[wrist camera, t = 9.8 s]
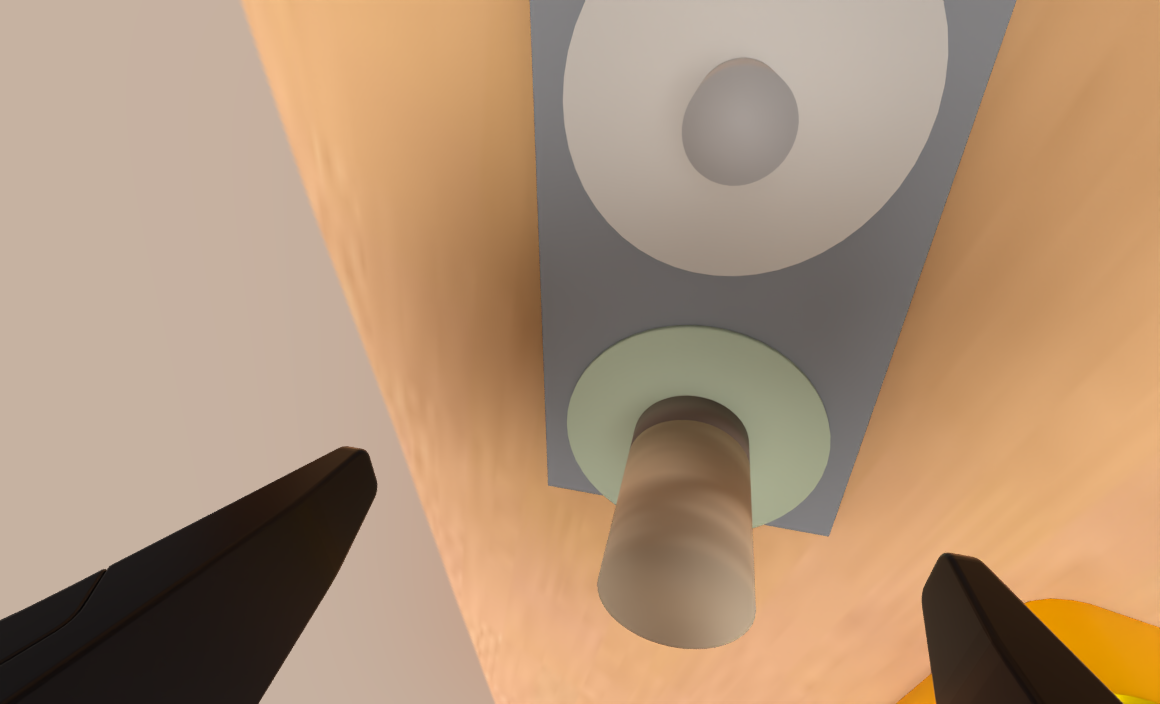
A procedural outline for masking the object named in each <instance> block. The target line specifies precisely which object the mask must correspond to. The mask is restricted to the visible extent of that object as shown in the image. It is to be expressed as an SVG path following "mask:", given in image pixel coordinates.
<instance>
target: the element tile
mask: <svg viewBox="0 0 1160 704" xmlns="http://www.w3.org/2000/svg"><path fill="white" fill-rule="evenodd" d="M1024 604H1025V605H1026V606H1027V607H1028V608H1029V609H1030V610H1031V611H1032V612H1033V613H1034V614H1035V615H1036V616H1037V617H1038V618H1039V619H1040V620H1041V621H1042V622H1043V623H1044V624H1045V625H1046V626H1047V627H1048V628H1049V629H1050V630H1051V631H1052V632H1053V633H1054V634H1055V635H1056V636H1057V637H1058V638H1059V639H1060V640H1061V641H1062V642H1063V643H1064V644H1065V645H1066V646H1067V647H1068V648H1069V649H1070V650H1071V651H1072V652H1073V653H1074V654H1075V655H1076V656H1077V657H1078V658H1079V659H1080V660H1081V661H1082V662H1083V663H1084V664H1085V665H1086V666H1087V667H1088V668H1089V669H1090V670H1091V671H1092V672H1093V673H1094V674H1095V675H1096V676H1097V677H1098V678H1099V679H1100V680H1101V681H1102V682H1103V683H1104V684H1105V685H1106V686H1107V687H1108V688H1109V689H1110V690H1111V691H1112V692H1113V693H1114V694H1115V695H1116V696H1117V697H1118V698H1119V699H1120V700H1121V701H1122V702H1123V703H1124V704H1160V628H1159V627H1156V626H1153V625H1150V624H1147V623H1144V622H1142V621H1139V620H1136V619H1133V618H1130V617H1127V616H1124V615H1121V614H1118V613H1115V612H1112V611H1109V610H1106V609H1103V608H1100V607H1097V606H1094V605H1092V604H1088V603H1083V602H1079V601H1074V600H1063V599H1043V600H1035V601H1029V602H1026V603H1024ZM896 704H936V701H935V694H934V687H933V680H932V674H930V675H929V676H928V677H927V678H926V679H924V680H923V681H922V682H921V683H920V684H919V685H917V686H916V687H915V688H914V689H913V690H912V691H910V692H909V693H908V694H907V695H906V696H904V697H903V698H902V699H901V700H900V701H899V702H897V703H896Z"/></svg>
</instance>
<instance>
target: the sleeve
mask: <svg viewBox="0 0 1160 704" xmlns="http://www.w3.org/2000/svg"><path fill="white" fill-rule="evenodd" d="M597 586H598V593H599V597H600V599H601V602H602V604H603V605H604V607H605V608H606V610H607V611H608V612H609V614H610V615H611V616H612V617H613V618H614V619H615V620H616V621H617V622H618V623H620V624H621V625H622V626H624V627H625V628H626V629H628V630H630V631H631V632H633V633H635V634H637V635H638V636H640V637H643V638H645V639H647V640H650V641H653V642H655V643H658V644H662V645H666V646H670V647H675V648H683V649H707V648H715V647H719V646H723V645H726V644H728V643H731V642H733V641H735V640H737V639H738V638H740V637H741V636H743V635H744V634H745V633H746V632H747V631H748V630H749V628H750V627H751V625H752V624H753V621H754V619H755V614H756V602H755V577H754V553H753V528H752V503H751V478H750V453H749V438H748V433H747V431H746V428H745V426H744V425H743V423H742V421H741V420H740V419H739V418H738V417H737V416H736V415H735V414H734V413H733V412H732V411H731V410H730V409H728V408H727V407H725V406H724V405H722V404H720V403H718V402H716V401H713V400H710V399H707V398H704V397H698V396H689V395H687V396H674V397H670V398H666V399H663V400H661V401H658V402H656V403H655V404H653V405H651V406H650V407H649V408H647V409H646V410H645V411H644V412H643V413H642V415H641V416H640V417H639V419H638V421H637V423H636V426H635V430H634V434H633V438H632V442H631V446H630V450H629V455H628V459H627V463H626V467H625V471H624V475H623V479H622V483H621V487H620V491H619V495H618V499H617V503H616V508H615V512H614V516H613V520H612V524H611V528H610V532H609V536H608V540H607V544H606V548H605V552H604V556H603V561H602V565H601V569H600V573H599V577H598V583H597Z"/></svg>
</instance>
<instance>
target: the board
mask: <svg viewBox="0 0 1160 704" xmlns="http://www.w3.org/2000/svg"><path fill="white" fill-rule="evenodd" d="M1015 3H1016V0H530V18H531V44H532V71H533V97H534V124H535V150H536V176H537V203H538V229H539V256H540V282H541V308H542V335H543V361H544V388H545V414H546V440H547V467H548V485H549V486H554V487H560V488H565V489H571V490H576V491H582V492H587V493H593V494H598V495H604V496H605V497H606V498H607V499H608V500H610V501H611V502H612V503H614V504H615V505H616V503H617V499H618V495H619V491H620V487H621V483H622V479H623V475H624V471H625V467H626V463H627V459H628V455H629V450H630V446H631V442H632V438H633V434H634V430H635V426H636V423H637V421H638V419H639V417H640V416H641V415H642V413H643V412H644V411H645V410H646V409H647V408H649V407H650V406H651V405H653V404H655V403H656V402H658V401H661V400H663V399H666V398H670V397H674V396H687V395H689V396H698V397H704V398H707V399H710V400H713V401H716V402H718V403H720V404H722V405H724V406H725V407H727V408H728V409H730V410H731V411H732V412H733V413H734V414H735V415H736V416H737V417H738V418H739V419H740V420H741V421H742V423H743V425H744V426H745V428H746V431H747V433H748V438H749V453H750V478H751V503H752V528H755V527H758V526H761V525H768V526H774V527H779V528H785V529H790V530H796V531H801V532H807V533H812V534H818V535H823V536H829V535H830V532H831V529H832V526H833V523H834V520H835V517H836V515H837V512H838V509H839V506H840V503H841V500H842V497H843V494H844V492H845V489H846V486H847V483H848V480H849V477H850V474H851V472H852V469H853V466H854V463H855V460H856V457H857V454H858V452H859V449H860V446H861V443H862V440H863V437H864V434H865V432H866V429H867V426H868V423H869V420H870V417H871V414H872V412H873V409H874V406H875V403H876V400H877V397H878V394H879V392H880V389H881V386H882V383H883V380H884V377H885V374H886V372H887V369H888V366H889V363H890V360H891V357H892V354H893V352H894V349H895V346H896V343H897V340H898V337H899V334H900V332H901V329H902V326H903V323H904V320H905V317H906V314H907V312H908V309H909V306H910V303H911V300H912V297H913V294H914V292H915V289H916V286H917V283H918V280H919V277H920V274H921V272H922V269H923V266H924V263H925V260H926V257H927V254H928V252H929V249H930V246H931V243H932V240H933V237H934V234H935V232H936V229H937V226H938V223H939V220H940V217H941V214H942V212H943V209H944V206H945V203H946V200H947V197H948V194H949V192H950V189H951V186H952V183H953V180H954V177H955V174H956V172H957V169H958V166H959V163H960V160H961V157H962V154H963V152H964V149H965V146H966V143H967V140H968V137H969V134H970V132H971V129H972V126H973V123H974V120H975V117H976V114H977V112H978V109H979V106H980V103H981V100H982V97H983V94H984V92H985V89H986V86H987V83H988V80H989V77H990V74H991V72H992V69H993V66H994V63H995V60H996V57H997V54H998V52H999V49H1000V46H1001V43H1002V40H1003V37H1004V34H1005V32H1006V29H1007V26H1008V23H1009V20H1010V17H1011V14H1012V12H1013V9H1014V6H1015Z"/></svg>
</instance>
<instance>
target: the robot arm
mask: <svg viewBox="0 0 1160 704" xmlns="http://www.w3.org/2000/svg"><path fill="white" fill-rule="evenodd" d="M376 492H377V480H376V476H375V473H374V470H373V467H372V463H371V460H370V456H369V454H368V453H367V451H366V450H364V449H360V448H354V447H348V446H345V447H340V448H338V449H336V450H334V451H332V452H330V453H328V454H327V455H325V456H322V457H321V458H319V459H317V460H315V461H313V462H311V463H309V464H307V465H305V466H303V467H301V468H299V469H298V470H295V471H293V472H291V473H289V474H288V475H286V476H284V477H282V478H280V479H278V480H276V481H274V482H272V483H270V484H268V485H266V486H264V487H262V488H260V489H259V490H256V491H254V492H253V493H251V494H249V495H247V496H245V497H243V498H241V499H239V500H237V501H235V502H233V503H231V504H229V505H227V506H225V507H223V508H221V509H219V510H218V511H216V512H214V513H212V514H210V515H208V516H206V517H204V518H202V519H200V520H198V521H196V522H194V523H192V524H190V525H188V526H186V527H184V528H182V529H181V530H179V531H177V532H175V533H173V534H171V535H169V536H167V537H165V538H163V539H161V540H159V541H157V542H155V543H153V544H151V545H149V546H147V547H146V548H144V549H142V550H140V551H138V552H136V553H134V554H132V555H130V556H128V557H126V558H124V559H122V560H120V561H118V562H116V563H114V564H112V565H111V566H109V568H108V569H107V570H106V569H103V570H101V571H99V572H97V573H95V574H93V575H91V576H89V577H87V578H85V579H83V580H81V581H79V582H77V583H75V584H73V585H72V586H69V587H68V588H65V589H64V590H61V591H59V592H58V593H55V594H53V595H51V596H49V597H47V598H45V599H44V600H41V601H39V602H37V603H35V604H33V605H32V606H29V607H27V608H25V609H23V610H21V611H19V612H17V613H14V614H12V615H10V616H8V617H6V618H4V619H2V620H0V704H259V702H260V700H261V699H262V697H263V695H264V694H265V692H266V691H267V689H268V687H269V686H270V684H271V682H272V680H273V679H274V677H275V676H276V674H277V672H278V671H279V669H280V668H281V666H282V664H283V663H284V661H285V659H286V658H287V656H288V654H289V653H290V651H291V650H292V648H293V646H294V644H295V643H296V641H297V640H298V638H299V637H300V635H301V633H302V632H303V630H304V628H305V627H306V625H307V623H308V622H309V620H310V619H311V617H312V615H313V614H314V612H315V610H316V609H317V607H318V605H319V604H320V602H321V601H322V599H323V597H324V596H325V594H326V592H327V591H328V589H329V587H330V586H331V584H332V582H333V580H334V579H335V577H336V575H337V573H338V572H339V570H340V568H341V566H342V564H343V562H344V560H345V558H346V555H347V554H348V552H349V549H350V548H351V545H352V543H353V541H354V539H355V537H356V535H357V533H358V531H359V529H360V527H361V525H362V523H363V521H364V519H365V516H366V515H367V513H368V510H369V508H370V506H371V504H372V502H373V500H374V498H375V496H376ZM922 609H923V616H924V623H925V630H926V637H927V644H928V651H929V658H930V666H931V673H932V680H933V687H934V694H935V701H936V704H1124V703H1123V702H1122V701H1121V700H1120V699H1119V698H1118V697H1117V696H1116V695H1115V694H1114V693H1113V692H1112V691H1111V690H1110V689H1109V688H1108V687H1107V686H1106V685H1105V684H1104V683H1103V682H1102V681H1101V680H1100V679H1099V678H1098V677H1097V676H1096V675H1095V674H1094V673H1093V672H1092V671H1091V670H1090V669H1089V668H1088V667H1087V666H1086V665H1085V664H1084V663H1083V662H1082V661H1081V660H1080V659H1079V658H1078V657H1077V656H1076V655H1075V654H1074V653H1073V652H1072V651H1071V650H1070V649H1069V648H1068V647H1067V646H1066V645H1065V644H1064V643H1063V642H1062V641H1061V640H1060V639H1059V638H1058V637H1057V636H1056V635H1055V634H1054V633H1053V632H1052V631H1051V630H1050V629H1049V628H1048V627H1047V626H1046V625H1045V624H1044V623H1043V622H1042V621H1041V620H1040V619H1039V618H1038V617H1037V616H1036V615H1035V614H1034V613H1033V612H1032V611H1031V610H1030V609H1029V608H1028V607H1027V606H1026V605H1025V604H1024V603H1023V602H1022V601H1021V600H1020V599H1019V598H1018V597H1017V596H1016V595H1015V594H1014V593H1013V592H1012V591H1011V590H1010V589H1009V588H1008V587H1007V586H1006V585H1005V584H1004V583H1003V582H1002V581H1001V580H1000V579H999V578H998V577H997V576H996V575H995V574H994V573H993V572H992V571H991V570H990V569H989V568H988V567H987V566H986V565H985V564H984V563H983V562H982V561H980V560H979V559H977V558H974V557H970V556H965V555H959V554H953V553H944V554H942V555H941V556H940V557H939V559H938V560H937V562H936V564H935V566H934V568H933V570H932V572H931V574H930V576H929V578H928V580H927V582H926V584H925V586H924V588H923V592H922Z"/></svg>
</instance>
